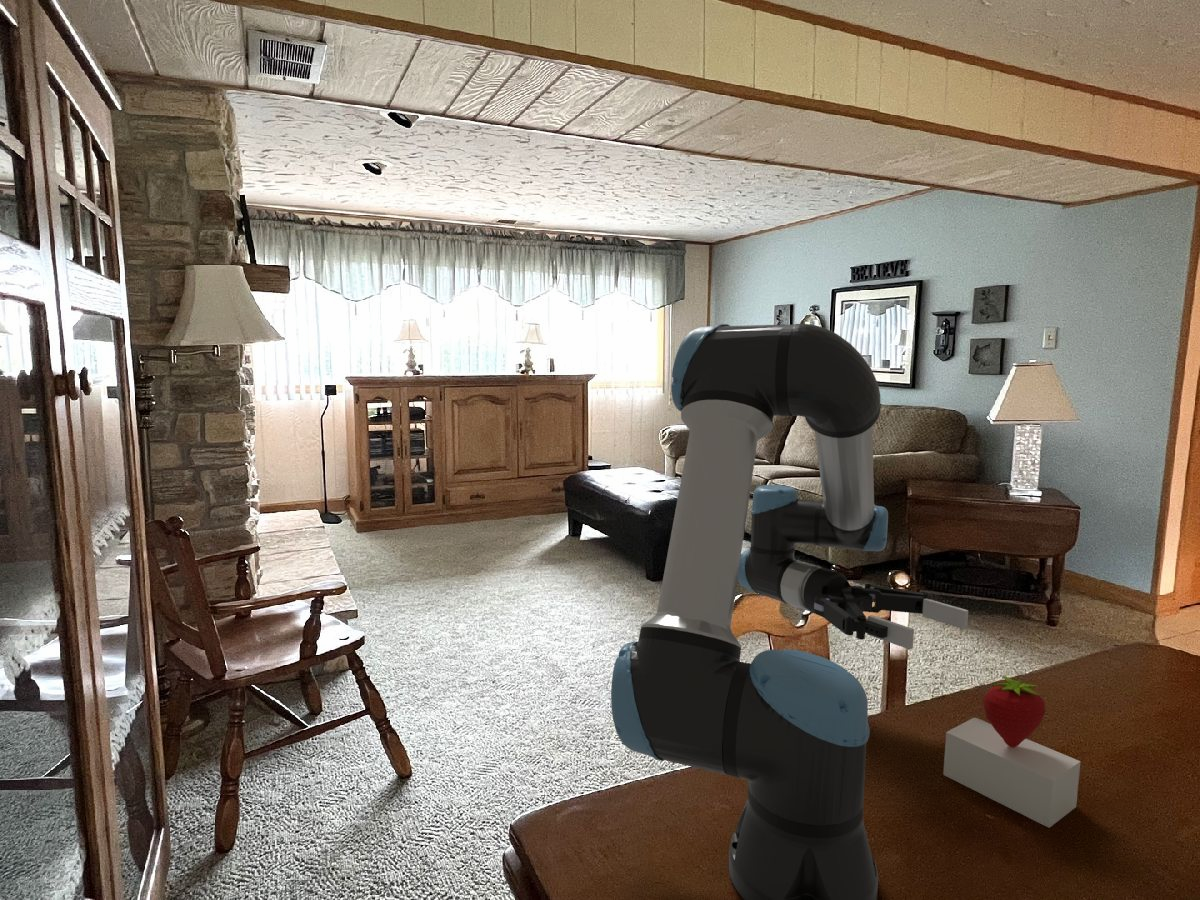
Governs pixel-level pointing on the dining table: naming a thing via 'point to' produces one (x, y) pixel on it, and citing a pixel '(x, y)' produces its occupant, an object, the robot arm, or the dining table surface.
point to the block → (1012, 772)
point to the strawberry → (1013, 710)
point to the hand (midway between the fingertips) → (940, 629)
